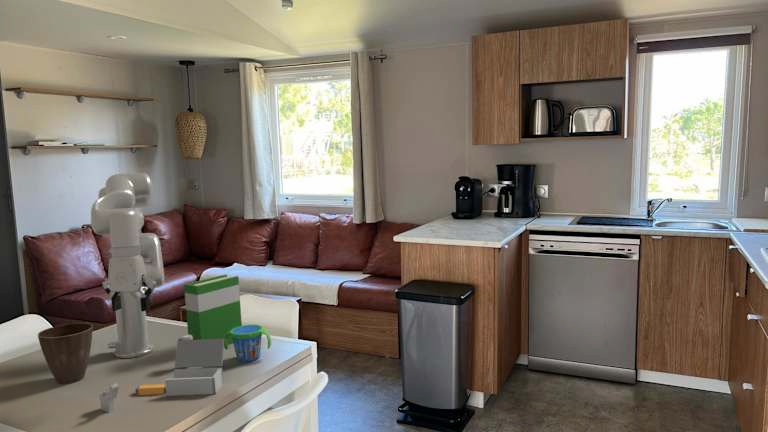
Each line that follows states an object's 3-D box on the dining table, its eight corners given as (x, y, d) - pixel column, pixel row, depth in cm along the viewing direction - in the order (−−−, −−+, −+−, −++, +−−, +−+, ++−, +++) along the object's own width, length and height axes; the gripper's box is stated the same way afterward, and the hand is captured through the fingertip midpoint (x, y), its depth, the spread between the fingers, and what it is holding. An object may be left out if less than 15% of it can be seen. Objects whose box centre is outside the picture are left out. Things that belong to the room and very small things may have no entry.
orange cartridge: (135, 395, 162) (134, 388, 162) (138, 391, 164) (138, 385, 164) (167, 393, 162) (166, 387, 162) (170, 390, 165) (169, 383, 164)
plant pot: (40, 378, 178) (34, 329, 176) (92, 366, 186) (87, 319, 185) (46, 393, 166) (40, 341, 164) (101, 379, 175) (96, 329, 173)
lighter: (100, 409, 154) (98, 381, 153) (106, 406, 155) (104, 378, 154) (115, 415, 150) (112, 386, 149) (121, 412, 151) (118, 383, 150)
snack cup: (219, 363, 185) (217, 333, 183) (233, 352, 195) (231, 323, 194) (264, 365, 182) (262, 334, 180) (276, 353, 192) (274, 324, 191)
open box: (166, 396, 161) (165, 379, 160) (176, 384, 168) (175, 369, 168) (215, 393, 161) (214, 377, 160) (223, 382, 169) (222, 367, 168)
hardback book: (229, 336, 212) (225, 274, 210) (242, 339, 208) (238, 276, 205) (189, 350, 198) (184, 284, 196) (202, 354, 194) (197, 286, 191)
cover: (177, 340, 171) (179, 341, 172) (174, 367, 168) (176, 368, 169) (223, 338, 171) (224, 339, 172) (221, 365, 168) (222, 366, 169)
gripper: (91, 254, 162) (97, 313, 163) (143, 253, 158) (148, 313, 159) (109, 250, 169) (114, 306, 170) (160, 249, 165) (165, 307, 166)
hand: (131, 310), depth 165 cm, fingers open, 9 cm apart
